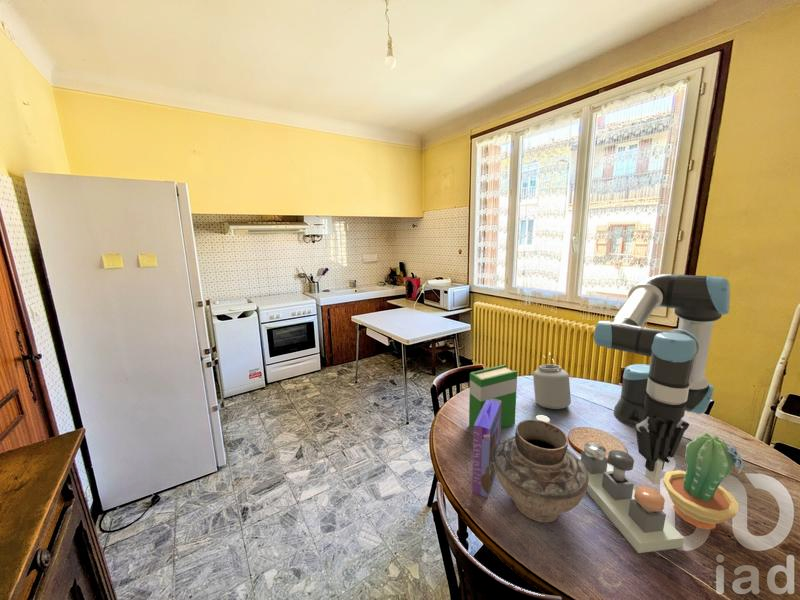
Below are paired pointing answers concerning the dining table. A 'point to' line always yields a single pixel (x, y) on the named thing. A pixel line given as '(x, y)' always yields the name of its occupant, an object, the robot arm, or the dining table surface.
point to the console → (629, 509)
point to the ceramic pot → (540, 471)
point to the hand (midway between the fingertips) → (652, 479)
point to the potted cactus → (704, 482)
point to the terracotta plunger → (649, 499)
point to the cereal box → (485, 446)
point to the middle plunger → (620, 463)
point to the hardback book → (493, 392)
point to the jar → (552, 386)
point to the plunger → (595, 451)
